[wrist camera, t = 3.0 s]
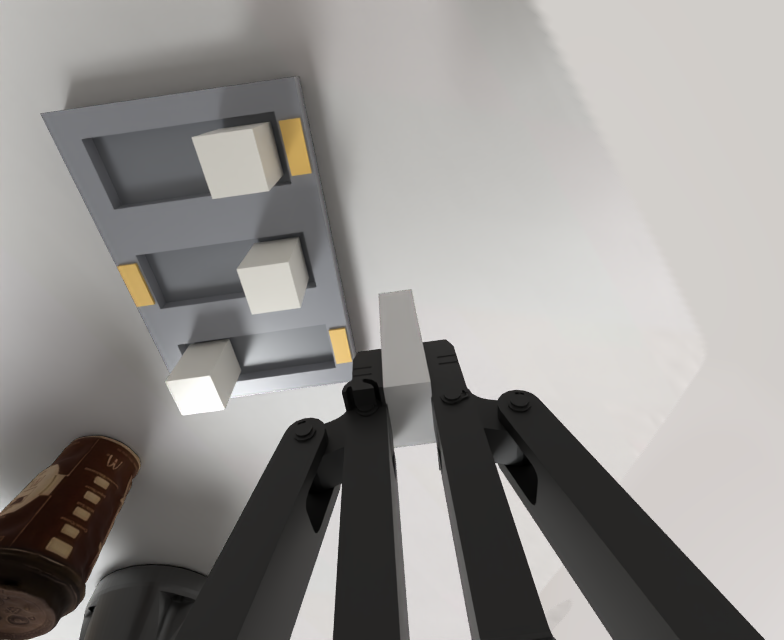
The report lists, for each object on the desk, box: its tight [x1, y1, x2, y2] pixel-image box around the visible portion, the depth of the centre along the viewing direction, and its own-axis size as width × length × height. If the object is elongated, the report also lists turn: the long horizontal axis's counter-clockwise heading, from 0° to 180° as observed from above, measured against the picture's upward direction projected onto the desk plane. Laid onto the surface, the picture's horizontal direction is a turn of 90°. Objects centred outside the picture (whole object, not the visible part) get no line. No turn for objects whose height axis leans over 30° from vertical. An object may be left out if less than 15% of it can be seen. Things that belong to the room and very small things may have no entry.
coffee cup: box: [0, 436, 141, 640], centre depth 32 cm, size 9×8×13 cm
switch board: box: [40, 77, 356, 398], centre depth 28 cm, size 14×21×2 cm, turn 7°
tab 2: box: [236, 237, 309, 315], centre depth 26 cm, size 3×3×4 cm
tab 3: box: [165, 339, 241, 415], centre depth 30 cm, size 3×3×4 cm
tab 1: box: [191, 121, 283, 199], centre depth 23 cm, size 3×3×4 cm
